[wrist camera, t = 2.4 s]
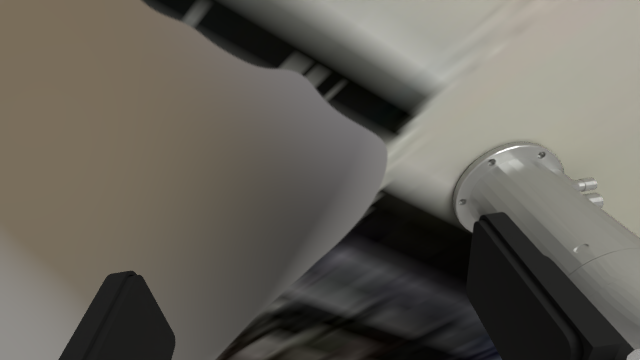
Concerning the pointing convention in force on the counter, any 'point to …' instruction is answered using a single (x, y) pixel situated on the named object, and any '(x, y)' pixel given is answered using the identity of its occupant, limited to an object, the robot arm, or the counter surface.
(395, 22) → the counter surface
